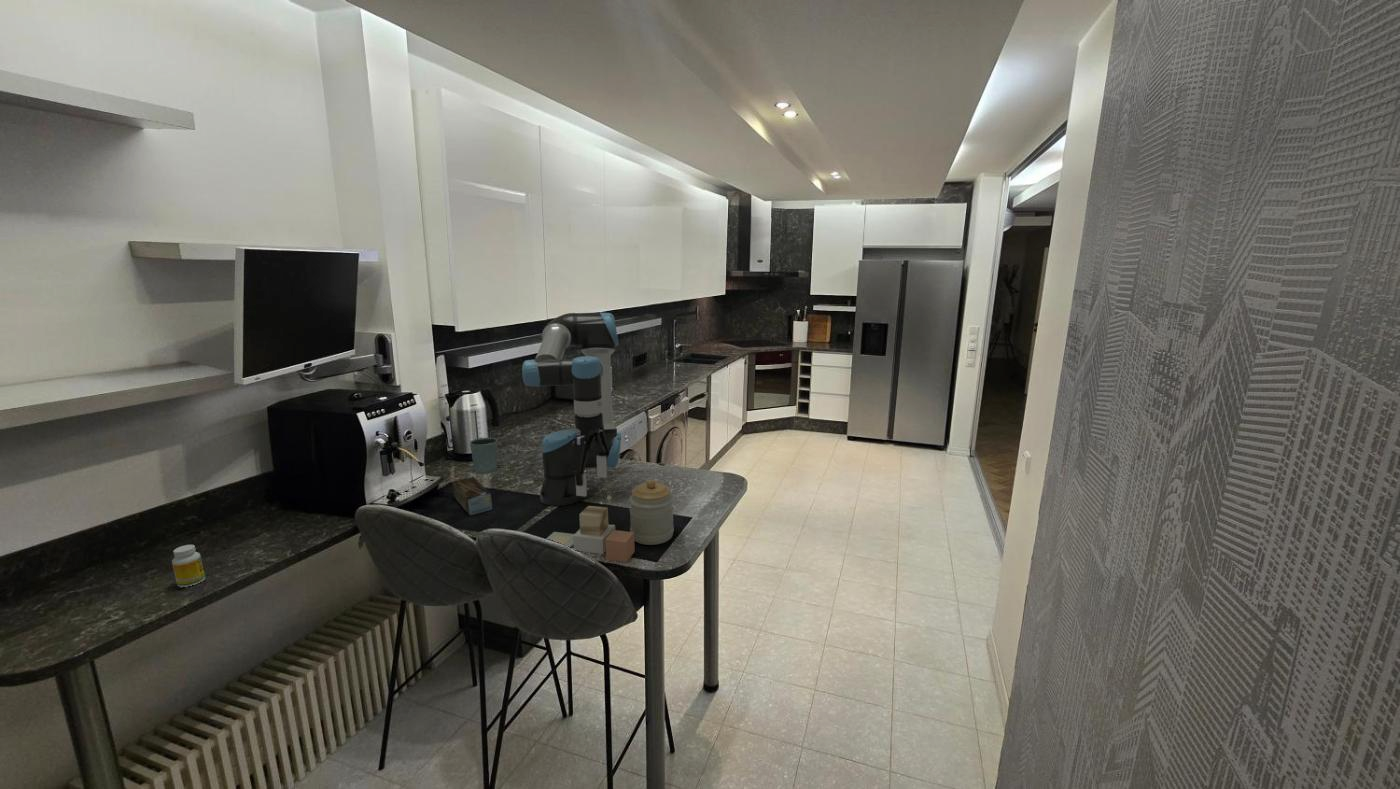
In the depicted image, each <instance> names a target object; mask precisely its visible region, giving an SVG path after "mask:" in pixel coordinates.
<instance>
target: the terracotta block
mask: <svg viewBox="0 0 1400 789" xmlns="http://www.w3.org/2000/svg"><path fill="white" fill-rule="evenodd" d="M605 542H606V552H605V560H608V561H613V562H614V561H615V562H622V563H628V562H629V560H630V559H631V558H632V556H633V554H634V553H635V551H636V549H635V541H634V532H630V531H626V530H625V531H624V530H616V529H615V530H614V531H613V532H612V533H611V534H610V535H609V536H608V537H607V539H606V540H605Z"/></svg>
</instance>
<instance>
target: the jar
mask: <svg viewBox="0 0 1400 789" xmlns="http://www.w3.org/2000/svg"><path fill="white" fill-rule="evenodd" d="M628 501H629V504H630V507H629V513H630V515H629V516H630V517H629V518H630V528H629V532H634V542H636V543H637V544H640V545H649V546H652V545H654V546H655V545H660V544H664V543H666V542H668V541H669V540H671V539H672V538H673V536H674V531H675V530H674V528H675V527H674V506H673V504H672V502H674V496H673V495H672V493H671V489H670V487H669V486H667V485H665V484H663V483H661V482H656V481H655V480H654V479H647V481H646V482H642V483H640V484H638V485H637V486H635V487H634V488H633V489H632V490H631V495H630V497H629V500H628Z"/></svg>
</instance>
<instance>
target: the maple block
mask: <svg viewBox="0 0 1400 789" xmlns="http://www.w3.org/2000/svg"><path fill="white" fill-rule="evenodd" d="M608 510H609V509H608V507H603V506H594V505H588V506H587V507H585V508H584V509H583V510H582V511H581V512H580V513H579V516H578V517H579V529H580V534H585V535H593V536H601V535H602V534H603V532H604V531H605V530H606V529H607V528H608V524H609V511H608Z"/></svg>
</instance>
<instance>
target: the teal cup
mask: <svg viewBox="0 0 1400 789" xmlns="http://www.w3.org/2000/svg"><path fill="white" fill-rule="evenodd" d="M469 447H470V452H471V458H472V462H473V471H474V473H476V474H480V475H481V474H482V475H483V474H489V473H493V472H495V471H496V470H497V469H498V461H497V460H498V439H497V438H495V437H479V438H475V439H472V440H470V441H469Z"/></svg>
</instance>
